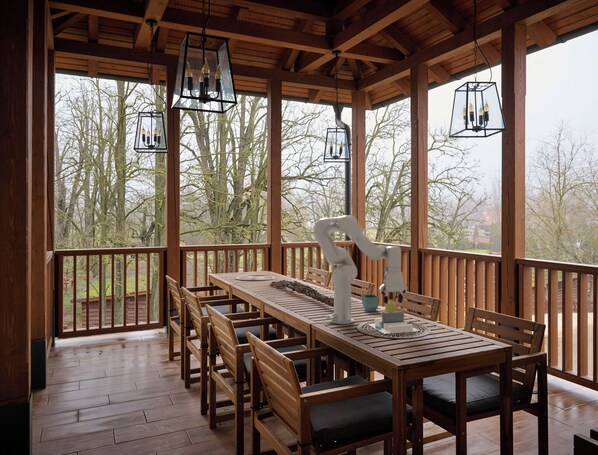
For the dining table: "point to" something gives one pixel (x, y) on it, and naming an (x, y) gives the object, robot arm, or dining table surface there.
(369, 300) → the flower pot
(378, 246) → the robot arm
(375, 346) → the dining table surface
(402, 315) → the panel
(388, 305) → the handbell
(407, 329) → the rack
